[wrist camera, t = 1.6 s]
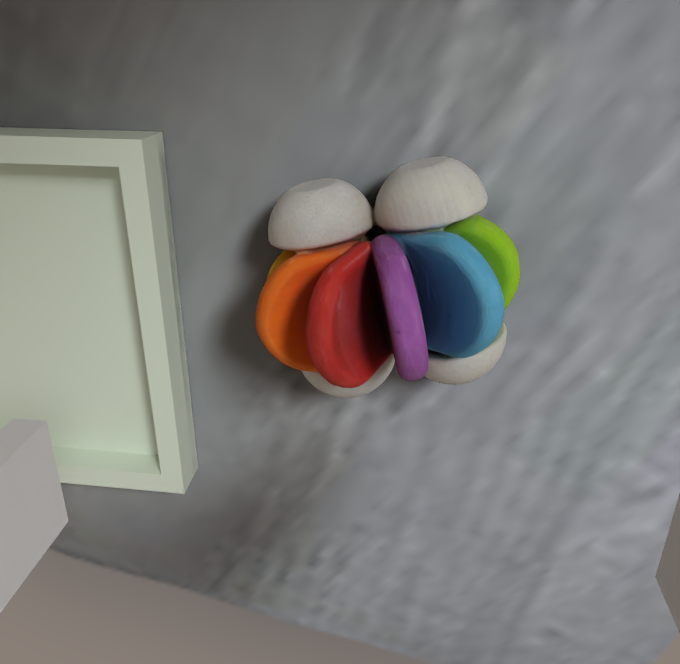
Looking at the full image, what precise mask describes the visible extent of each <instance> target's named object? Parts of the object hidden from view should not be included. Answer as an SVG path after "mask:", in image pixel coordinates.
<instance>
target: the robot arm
mask: <svg viewBox="0 0 680 664" xmlns="http://www.w3.org/2000/svg"><path fill="white" fill-rule="evenodd" d="M67 522H68V517H67V512H66V508H65V503H64V498H63V494H62V489H61V485H60V480H59V475H58V471H57V466H56V461H55V457H54V452H53V447H52V443H51V438H50V434H49V429H48V424H47V421H43V420H30V419H17V418H13V419H12V420H11V421H10V422H9V423H8V424H6V425H5V426H4V427H3V428H2V429H1V430H0V613H1V612H2V610H3V609H4V607H5V606H6V605H7V603H8V602H9V601H10V599H11V598H12V596H13V595H14V594H15V593H16V591H17V590H18V588H19V587H20V586H21V584H22V583H23V582H24V580H25V579H26V578H27V576H28V575H29V574H30V572H31V571H32V570H33V568H34V567H35V566H36V564H37V563H38V562H39V560H40V559H41V557H42V556H43V555H44V553H45V552H46V551H47V549H48V548H49V547H50V545H51V544H52V543H53V541H54V540H55V539H56V537H57V536H58V534H59V533H60V532H61V530H62V529H63V528H64V526H65V525H66V524H67ZM656 579H657V582H658V584H659V586H660V589H661V591H662V593H663V596H664V598H665V600H666V603H667V605H668V607H669V609H670V612H671V614H672V616H673V619H674V621H675V623H676V626H677V628H678V630H679V633H680V495H679V498H678V501H677V505H676V508H675V512H674V515H673V518H672V522H671V525H670V529H669V532H668V536H667V539H666V542H665V546H664V549H663V553H662V556H661V559H660V563H659V566H658V570H657V573H656Z"/></svg>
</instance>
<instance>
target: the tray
mask: <svg viewBox="0 0 680 664" xmlns="http://www.w3.org/2000/svg"><path fill="white" fill-rule="evenodd" d="M13 418H17V419H30V420H43V421H47V424H48V429H49V434H50V438H51V443H52V447H53V452H54V457H55V461H56V466H57V471H58V475H59V480H60V482H61V483H72V484H83V485H94V486H105V487H116V488H127V489H138V490H148V491H159V492H170V493H181V494H184V493H185V491H186V489H187V488H188V486H189V484H190V482H191V480H192V478H193V476H194V474H195V472H196V470H197V469H198V462H197V452H196V443H195V434H194V424H193V415H192V405H191V396H190V387H189V377H188V368H187V359H186V349H185V340H184V330H183V321H182V312H181V302H180V293H179V284H178V274H177V265H176V255H175V246H174V237H173V227H172V218H171V209H170V199H169V190H168V180H167V171H166V162H165V152H164V143H163V133H162V132H151V131H116V130H80V129H45V128H10V127H0V430H1V429H2V428H3V427H4V426H5V425H6V424H8V423H9V422H10V421H11V420H12V419H13Z"/></svg>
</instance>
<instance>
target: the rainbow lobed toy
mask: <svg viewBox="0 0 680 664" xmlns="http://www.w3.org/2000/svg"><path fill="white" fill-rule="evenodd" d="M486 204H487V194H486V191H485V188H484V186H483V184H482V183H481V181H480V179H479V178H478V176H477V175H476V174H475V173H474V172H473V171H472V170H471V169H470V168H469V167H468V166H466V165H465V164H463V163H461V162H459V161H458V160H456V159H453V158H450V157H442V156H439V157H429V158H423V159H418V160H414V161H411V162H408V163H405V164H403V165H401V166H399V167H398V168H396V169H395V170H394V171H393V172H392V173H391V174H390V175H389V176H388V177H387V179H386V180H385V182H384V183H383V185H382V186H381V188H380V190H379V193H378V195H377V198H376V203H375V208H372V207H371V206H370V204H369V202H368V200H367V199H366V198H365V196H364V195H363V194H362V193H361V192H360V191H359V190H358V189H357V188H355V187H354V186H353V185H351V184H349V183H347V182H345V181H343V180H340V179H335V178H324V179H316V180H311V181H307V182H304V183H300V184H298V185H295V186H293V187H291V188H289V189H288V190H286V191H285V192H284V193H283V194H282V196H281V197H280V198H279V200H278V201H277V202H276V204H275V206H274V208H273V210H272V212H271V215H270V219H269V224H268V238H269V242H270V244H271V245H273V246H274V247H276V248H279V249H283V250H284V251H283V252H282V253H281V254H280V255H279V256H278V258H277V259H276V260H275V261H274V263H273V264H272V266H271V268H270V270H269V273H268V276H267V281H266V283H265V285H264V286H263V288H262V291H261V294H260V297H259V300H258V304H257V308H256V330H257V333H258V335H259V337H260V339H261V341H262V342H263V344H264V345H265V347H266V348H267V350H268V351H269V352H270V353H271V354H272V355H273V356H274V357H275V358H277V359H278V360H279V361H281V362H282V363H283V364H285V365H287V366H289V367H292V368H294V369H298V370H301V371H302V373H303V374H304V376H305V377H306V378H307V380H308V381H309V382H310V383H311V384H312V385H313V386H314V387H315V388H317V389H318V390H320V391H322V392H324V393H326V394H328V395H331V396H334V397H339V398H354V397H359V396H362V395H365V394H367V393H369V392H371V391H373V390H374V389H376V388H377V387H378V386H380V385H381V384H382V383H383V382H384V381H385V379H386V378H387V377H388V375H389V374H390V372H391V371H392V369H393V366H394V363H395V362H396V366H397V370H398V373H399V375H400V376H401V378H403V379H405V380H408V381H416V380H419V379H421V378H423V377H424V376H425V377H427V378H428V379H431V380H433V381H435V382H439V383H443V384H452V385H456V384H464V383H468V382H471V381H474V380H476V379H478V378H480V377H481V376H483V375H484V374H486V373H487V372H488V371H489V370H491V369H492V368H493V366H494V365H495V364H496V363H497V361H498V360H499V358H500V357H501V355H502V352H503V350H504V347H505V343H506V336H507V329H506V326H505V324H504V322H503V317H504V310H505V308H506V307H507V306H508V305H509V303H510V302H511V300H512V299H513V297H514V295H515V293H516V290H517V288H518V284H519V280H520V263H519V256H518V252H517V250H516V248H515V245H514V244H513V242H512V240H511V239H510V238H509V236H508V235H507V234H506V233H505V232H504V231H503V230H502V229H501V228H500V227H498V226H497V225H495V224H494V223H492V222H491V221H489V220H487V219H485V218H483V217H481V216H479V215H478V214H477V213H478V212H480V211H481V210H483V208H484V207H485V206H486ZM374 225H377V226H380V227H381V228H383V229H384V230H385V231H386V233H387V234H384V235H380V236H377V237H376V238H374V239H373V240H372V241H370V240H369V238H368V237H367V235H366V233H367V232H368V231H369V230H370V229H371V228H372V227H373V226H374Z"/></svg>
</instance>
